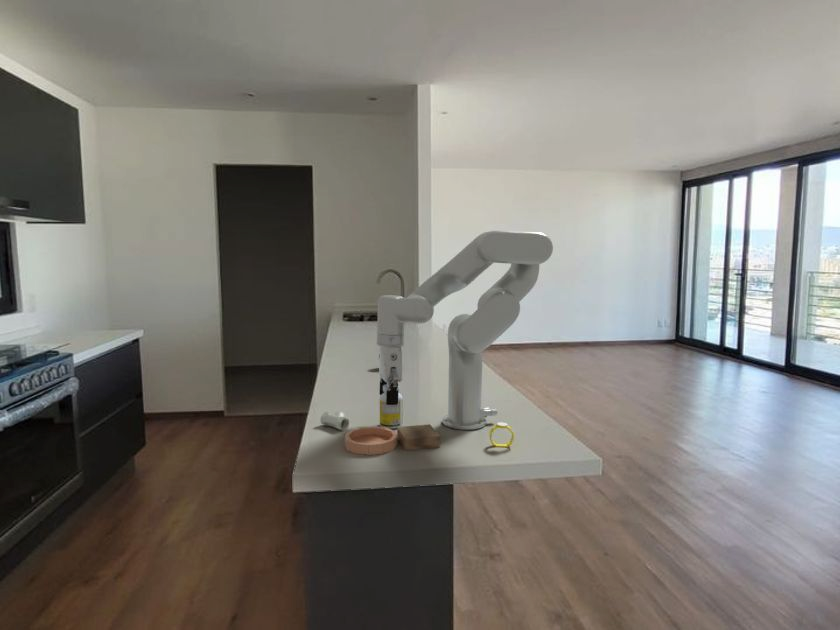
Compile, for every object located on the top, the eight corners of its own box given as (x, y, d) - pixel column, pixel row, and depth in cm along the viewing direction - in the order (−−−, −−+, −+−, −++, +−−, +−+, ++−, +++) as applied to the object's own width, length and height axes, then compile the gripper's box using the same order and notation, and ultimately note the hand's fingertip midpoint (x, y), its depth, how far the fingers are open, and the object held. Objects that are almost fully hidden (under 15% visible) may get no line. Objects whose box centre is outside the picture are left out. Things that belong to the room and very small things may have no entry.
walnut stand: (429, 435, 137) (429, 424, 136) (439, 447, 128) (439, 435, 128) (397, 438, 134) (397, 427, 134) (405, 450, 126) (405, 438, 125)
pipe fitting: (337, 422, 149) (320, 426, 143) (338, 409, 148) (320, 412, 143) (357, 428, 144) (339, 432, 138) (357, 414, 144) (340, 418, 138)
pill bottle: (392, 420, 148) (392, 381, 147) (407, 425, 144) (407, 385, 143) (375, 425, 144) (374, 385, 143) (390, 431, 139) (390, 390, 138)
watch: (511, 445, 130) (514, 423, 130) (513, 449, 128) (515, 426, 127) (488, 443, 131) (490, 421, 130) (489, 447, 128) (491, 424, 127)
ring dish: (390, 433, 137) (390, 424, 137) (401, 451, 125) (401, 441, 125) (342, 438, 134) (342, 428, 134) (348, 456, 121) (348, 446, 121)
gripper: (411, 345, 134) (408, 408, 136) (396, 334, 150) (394, 391, 152) (383, 345, 132) (381, 409, 134) (371, 334, 148) (370, 391, 150)
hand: (388, 399), depth 143 cm, fingers open, 9 cm apart
